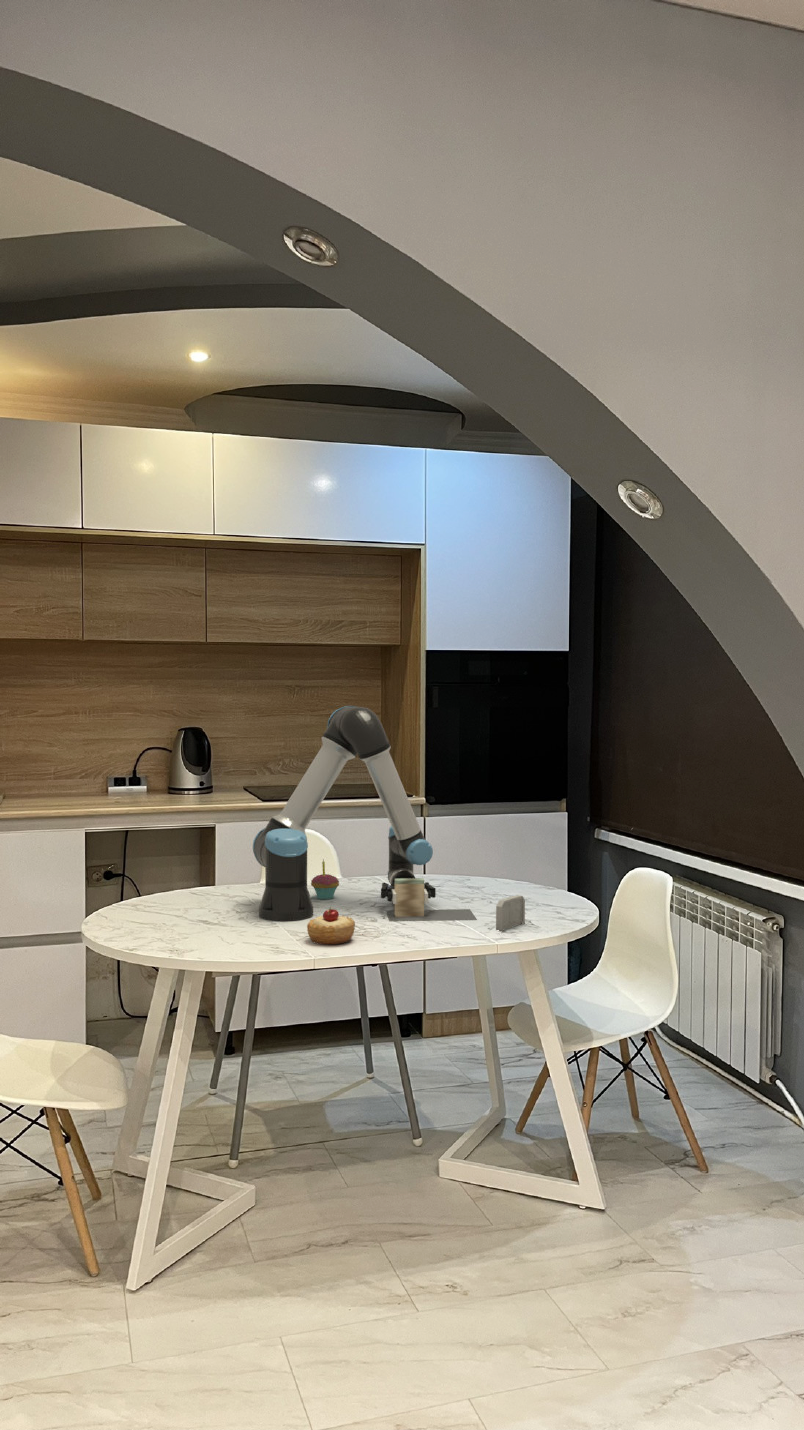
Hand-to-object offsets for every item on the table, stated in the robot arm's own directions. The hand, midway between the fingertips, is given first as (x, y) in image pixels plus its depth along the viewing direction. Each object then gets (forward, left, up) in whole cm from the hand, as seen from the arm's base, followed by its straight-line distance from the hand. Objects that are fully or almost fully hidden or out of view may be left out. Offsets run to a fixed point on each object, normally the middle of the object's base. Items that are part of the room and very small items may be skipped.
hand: (410, 898), depth 287 cm
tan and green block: (0, +5, -6) cm, 7 cm away
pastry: (-22, -20, -6) cm, 31 cm away
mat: (+6, +5, -6) cm, 10 cm away
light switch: (+26, -8, -6) cm, 28 cm away
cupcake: (-23, +34, -6) cm, 41 cm away
